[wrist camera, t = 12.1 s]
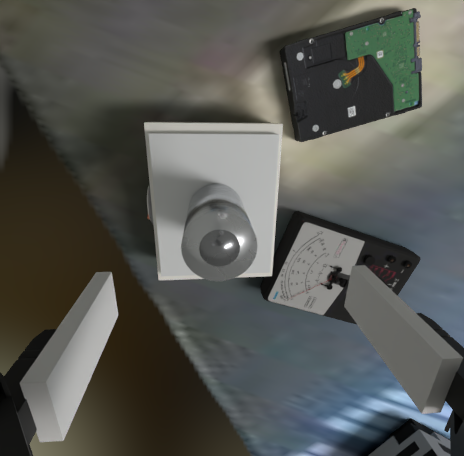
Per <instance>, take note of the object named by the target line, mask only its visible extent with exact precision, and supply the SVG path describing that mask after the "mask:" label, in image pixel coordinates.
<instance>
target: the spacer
mask: <svg viewBox="0 0 464 456" xmlns="http://www.w3.org/2000/svg"><path fill="white" fill-rule="evenodd" d="M181 252H182V256H183V259H184V262H185V263H186V265H187V266H188V268H189V269H190V270H191V271H192V272H193V273H195V274H196V275H198V276H199V277H201V278H204V279H207V280H211V281H226V280H230V279H233V278H235V277H238V276H239V275H241V274H243V273H244V272H245V271H246V270H247V269H248V268H249V267H250V266H251V264H252V263H253V261H254V259H255V257H256V253H257V238H256V235H255V233H254V230H253V228H252V225H251V223H250V220H249V218H248V215H247V213H246V210H245V208H244V205H243V203H242V200H241V198H240V196H239V195H238V194H237V192H236V191H235V190H233V189H232V188H231V187H229V186H227V185H224V184H217V183H215V184H208V185H205V186H203V187H201V188H200V189H198V190H197V191H196V192H195V193H194V194H193V196H192V198H191V200H190V202H189V206H188V212H187V217H186V222H185V227H184V232H183V237H182V243H181Z"/></svg>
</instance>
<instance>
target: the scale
mask: <svg viewBox="0 0 464 456" xmlns="http://www.w3.org/2000/svg"><path fill="white" fill-rule="evenodd" d="M144 129H145V140H146V150H147V161H148V171H149V182H150V184H149V186H148V190H147V208H148V217H147V218H148V219H150V221H151V223H152V224H153V225H154V235H155V246H156V257H157V267H158V278H159V280H181V279H204V278H201V277H199V276H198V275H196V274H195V273H193V272H192V271H191V270H190V269H189V268H188V266H187V265H186V263H185V262H184V259H183V256H182V252H181V243H182V237H183V232H184V227H185V222H186V217H187V212H188V206H189V202H190V200H191V198H192V196H193V194H194V193H195V192H196V191H197V190H198V189H200V188H201V187H203V186H205V185H208V184H215V183H217V184H224V185H227V186H229V187H231V188H232V189H233V190H235V191H236V192H237V194H238V195H239V196H240V198H241V200H242V203H243V205H244V208H245V210H246V213H247V215H248V218H249V220H250V223H251V225H252V228H253V230H254V233H255V235H256V238H257V253H256V257H255V259H254V261H253V263H252V264H251V266H250V267H249V268H248V269H247V270H246V271H245V272H244V273H243V274H241V275H239V276H238V277H265V276H272V270H273V256H274V242H275V228H276V214H277V200H278V186H279V172H280V158H281V144H282V129H283V124H278V123H232V122H144ZM235 278H237V277H235Z"/></svg>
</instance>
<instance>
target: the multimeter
mask: <svg viewBox="0 0 464 456" xmlns="http://www.w3.org/2000/svg"><path fill="white" fill-rule="evenodd" d="M419 261H420V257H419V256H418V255H416V254H415V253H414V252H412V251H410V250H409V249H407V248H405V247H402V246H399V245H396V244H393V243H390V242H387V241H384V240H381V239H378V238H375V237H372V236H369V235H366V234H363V233H360V232H358V231H355V230H352V229H349V228H346V227H343V226H340V225H337V224H334V223H331V222H328V221H325V220H322V219H319V218H316V217H313V216H310V215H308V214H305V213H302V212H299V211H295V212H294V214H293V216H292V218H291V220H290V222H289V224H288V227H287V229H286V231H285V233H284V235H283V238H282V240H281V242H280V244H279V246H278V249H277V251H276V253H275V255H274V257H273V270H272V276H265V277H264V279H263V282H262V284H261V294H262V296H263V298H264V299H265V300H267V301H270V302H274V303H278V304H282V305H285V306H289V307H293V308H297V309H301V310H304V311H308V312H312V313H316V314H320V315H323V316H327V317H331V318H335V319H339V320H342V321H346V322H350V323H354V324H357V323H356V322H355V321H354V319H353V318H352V316H351V315H350V314H349V312H348V311H347V310H346V308H345V307H344V304H345V299H346V294H347V289H348V284H349V279H350V274H351V269H352V266H359V265H365V266H366V267H367V268H368V269H370V270H371V271H372V272H373V273H374V274H375V275H376V276H377V277H378V278H379V279H380V280H381V281H382V282H383V283H384V284H385V285H386V286H388V287H389V288H390V289H391V290H392V291H393V292H394V293H395V294H396V295H397V296H398V294H399V292H400V291H401V289H402V288H403V286H404V285H405V283H406V282H407V280H408V279H409V277H410V275H411V274H412V272H413V271H414V269H415V268H416V266H417V265H418V263H419Z"/></svg>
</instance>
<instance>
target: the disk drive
mask: <svg viewBox="0 0 464 456" xmlns="http://www.w3.org/2000/svg"><path fill="white" fill-rule="evenodd" d="M420 17H421V16H420V12H417V11H416V9H415V8H413V9H410V10H406V11H403V12H402V11H399V12H395V13H392V14H390V15H387V16H384V17H380V18H377V19H374V20H371V21H367V22H364V23H360V24H357V25H353V26H350V27H347V28H344V29H340V30H337V31H333V32H330V33H327V34H323V35H320V36H317V37H313V38H309V39H305V40H301V41H298V42H296V43H293V44H290V45H287V46H285V47H284V48H283V49H282V50H281V51H280V55H281V61H282V66H283V72H284V78H285V84H286V89H287V95H288V101H289V106H290V113H291V118H292V124H293V128H294V134H295V140H296V141H299V142H304V141H307V140H311V139H312V140H313V139H316V138H319V137H322V136H324V135H328V134H332V133H335V132H339V131H342V130H345V129H349V128H352V127H356V126H359V125H363V124H366V123H370V122H373V121H376V120H380V119H384V118H387V117H390V116H394V115H398V114H402V113H405V112H407V111H411V110H414V109H417V108H420V107H422V81H421V71H422V58H418V56H419V55H420V45H418V43H420V40H419V21H418V22H417V19H418V18H420Z"/></svg>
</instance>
